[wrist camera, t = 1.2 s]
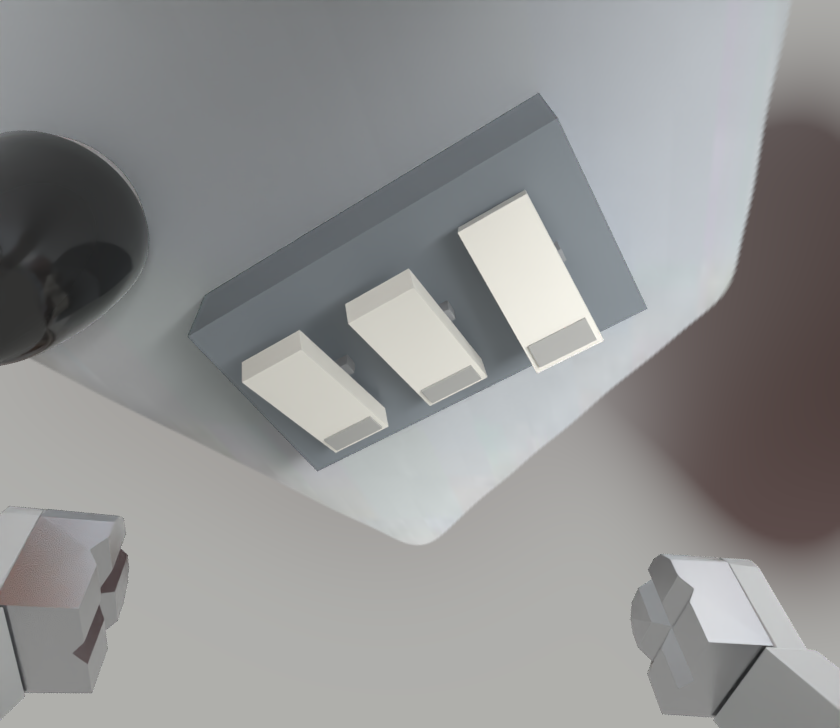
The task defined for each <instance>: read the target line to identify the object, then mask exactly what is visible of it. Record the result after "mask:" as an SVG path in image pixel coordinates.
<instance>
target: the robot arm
mask: <svg viewBox="0 0 840 728" xmlns="http://www.w3.org/2000/svg"><path fill="white" fill-rule="evenodd" d="M125 535H126V531H125V523H124V518H123V517H121V516H114V515H104V514H94V513H84V512H73V511H63V510H52V509H37V508H26V507H25V508H24V507H15V506H9V507H8V508H6V509H5V510H4V511H3V512H2V513H0V720H1V719H2V718H3V717H4V716H5V715H6V714H7V713H9V711H11V710H12V709H13V707H15V706H16V705H17V704H18V703H19V702H20V701H21V700H22V699H23V698H24V697H25V694H24V693H92V692H93V688H94V686H95V683H96V680H97V677H98V675H99V672H100V669H101V666H102V663H103V661H104V658H105V655H106V652H107V649H108V647H107V638H106V629H108V628H109V627H110V626H112V625H113V624H114V623H115V622H117V621H118V618H119V615H120V611H121V609H122V606H123V603H124V598H125V593H126V589H127V584H128V572H129V563H128V555H127V554H126V553H125V552H124V551H123V550H122V549H121V546H122V543H123V540H124V538H125ZM648 571H649V573H650V575H651V577H652V580H650V581H648V582H647V583H645V584H644V585H642V586H641V587H639V588H638V590H637V592H636V594H635V596H634V599H633V601H632V608H631V624H632V630H633V635H634V638H635V640H636V643H637V646H638V648H639V649H640V650H641V651H642V652H643V653H644V654H645V655H646V656H647V657H648V658H650V659H651V664H650V667H649V670H648V673H647V674H648V677H649V680H650V683H651V685H652V688H653V691H654V693H655V696H656V699H657V702H658V704H659V707H660V710H661V713H662V714H668V715H683V716H684V715H685V716H698V717H714V720H713V721H714V722H715V723H716V724H717V725H718V726H719V728H840V669H839V668H838V667H837V666H836V665H834V664H833V663H832V662H831V661H829V660H828V659H827V658H826V657H824V656H823V655H822V654H820V653H819V652H818V651H817V650H812V649H807V648H806V647H805V645H804V643H803V642H802V640H801V639H800V636H799V635H798V633H797V631H796V630H795V628H794V626H793V625H792V623H791V621H790V620H789V618H788V616H787V614H786V613H785V611H784V609H783V608H782V606H781V604H780V603H779V601H778V599H777V598H776V596H775V594H774V593H773V591H772V589H771V587H770V586H769V584H768V582H767V581H766V579H765V577H764V575H763V574H762V572H761V570H760V569H759V567H758V566H757V565H756V564H755V563H753V562H752V561H751V560H746V559H730V558H716V557H702V556H687V555H671V554H660V555H659V556H657V557H656V558H654V559H653V561H652V563H651V565H650V567H649V569H648Z"/></svg>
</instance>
